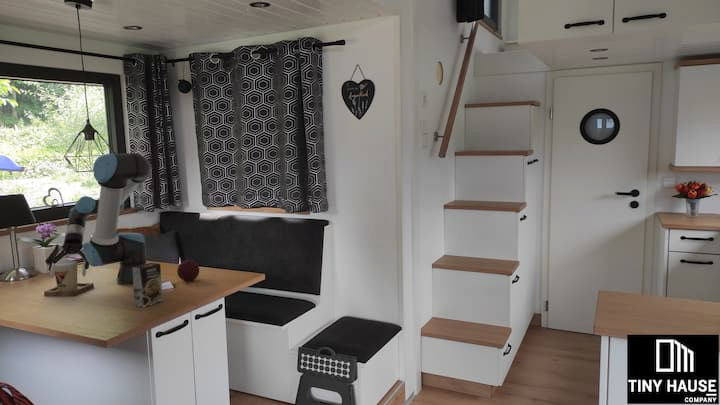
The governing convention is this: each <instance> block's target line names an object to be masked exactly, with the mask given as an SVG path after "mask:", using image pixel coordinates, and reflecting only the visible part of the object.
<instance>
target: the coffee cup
mask: <svg viewBox="0 0 720 405" xmlns="http://www.w3.org/2000/svg"><path fill="white" fill-rule="evenodd" d="M54 271H55V272H54V277H55V281H56V286H57V288H58V291H73V290H76V289H77V285H78V284H77V283H78V262H77V261H75V260H68V261H67V260H66V261H60V262H59V261H58V262H57V263H56V264H54Z"/></svg>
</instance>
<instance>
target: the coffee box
mask: <svg viewBox="0 0 720 405" xmlns="http://www.w3.org/2000/svg"><path fill="white" fill-rule="evenodd" d="M132 268H133V284H132V285H133V296H134V306H136V305H139V306H138V307H140V306H143V307H144V306H147V305H150V304H154V303H157V302H160V303H162V302H161V301H164V300H163V287H162V286H163V284H162V269H161V263H156V262H155V263H154V262H148V263H146V264H144V265H139V266H135V267H132ZM157 304H158V303H157ZM154 305H155V304H154ZM143 307H142V308H143ZM144 308H145V307H144Z"/></svg>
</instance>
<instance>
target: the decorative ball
mask: <svg viewBox="0 0 720 405" xmlns="http://www.w3.org/2000/svg"><path fill="white" fill-rule="evenodd" d="M176 272H177V276H178V277H179V279H180V280H182V281H185V282H191V281H194V280H195V279H197V278H198V276H199V274H200V266H199V264H198V263H197V262H196V261H195V260H191V259H186V260H183V261H181V262H180V264H179V265H178V266H177V271H176Z"/></svg>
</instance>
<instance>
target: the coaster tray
mask: <svg viewBox="0 0 720 405" xmlns="http://www.w3.org/2000/svg"><path fill="white" fill-rule="evenodd" d="M77 284H78V285H77V289H76V290H73V291H58V288H57V285H56V286H54V287H51V288H50V289H47V290H44V291H43V294H44V295H43V296H44V297H76V296H78V295H81V294H83V293H85V292H87V291H89V290H91V289H94V288H95V285H94V284H95V283H94V282H93V283H92V282H77Z"/></svg>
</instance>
